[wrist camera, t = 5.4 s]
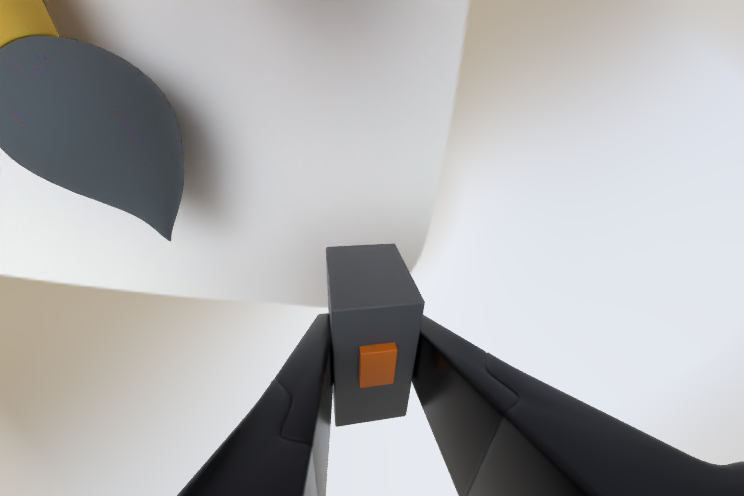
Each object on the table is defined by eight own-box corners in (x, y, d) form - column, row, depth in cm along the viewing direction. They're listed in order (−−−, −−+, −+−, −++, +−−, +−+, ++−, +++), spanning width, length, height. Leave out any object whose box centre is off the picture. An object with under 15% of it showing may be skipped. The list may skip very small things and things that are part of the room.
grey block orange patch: (325, 246, 10) (331, 319, 7) (395, 242, 10) (429, 310, 7) (330, 359, 12) (336, 447, 9) (385, 353, 13) (407, 435, 10)
